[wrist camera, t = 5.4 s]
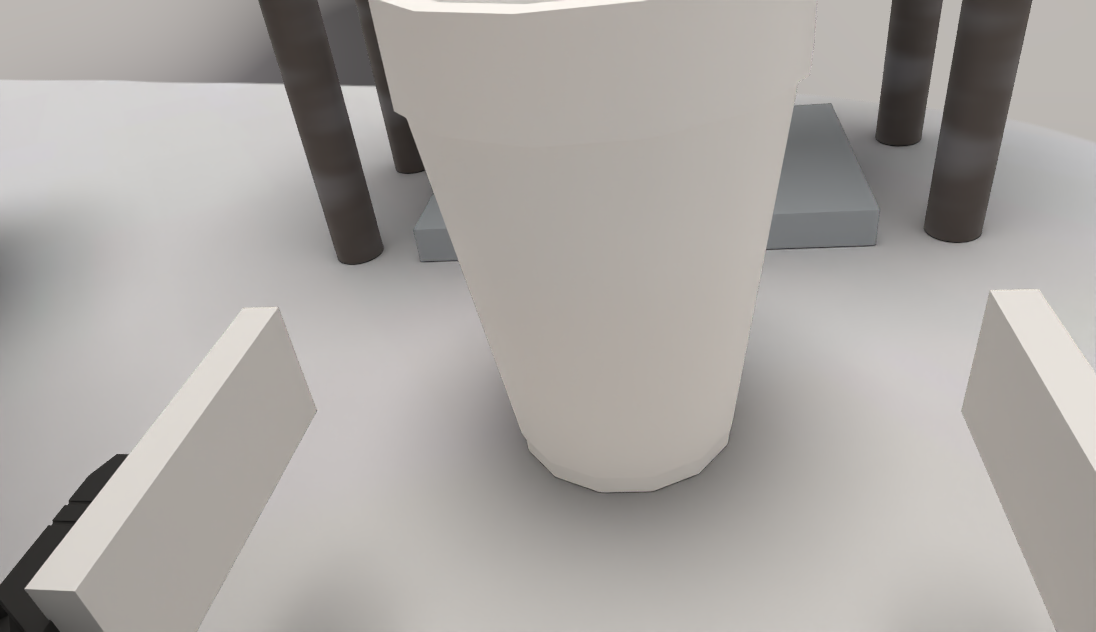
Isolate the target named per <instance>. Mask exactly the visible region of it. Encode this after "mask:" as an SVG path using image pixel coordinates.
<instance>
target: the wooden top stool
mask: <svg viewBox="0 0 1096 632" xmlns="http://www.w3.org/2000/svg"><path fill="white" fill-rule="evenodd" d="M355 2H356V6H357V10H358V15H359V19H360V23H361V27H362V31H363V35H364V39H365V44H366V48H367V52H368V56H369V60H370V64H371V68H372V73H373V77H374V81H375V85H376V89H377V93H378V97H379V101H380V106H381V110H382V114H383V118H384V122H385V126H386V130H387V134H388V139H389V143H390V147H391V151H392V155H393V159H394V163H395V168H396V170H397V171H398V172H401V173H415V172H420V171H423V170H425V168H424V165H423V162H422V159H421V157H420V154H419V151H418V149H417V146H416V143H415V140H414V138H413V135H412V132H411V129H410V127H409V124H408V121H407V118H405V117H404V116H402V115H400V114H398V113H396V112H395V111H394V109H393V105H392V100H391V96H390V92H389V87H388V83H387V79H386V75H385V70H384V66H383V62H382V58H381V53H380V49H379V45H378V40H377V36H376V32H375V28H374V23H373V19H372V15H371V10H370V6H369V2H368V0H355ZM942 2H943V0H892V7H891V15H890V23H889V31H888V39H887V47H886V56H885V63H884V72H883V80H882V88H881V96H880V104H879V112H878V120H877V129H876V139H877V140H878V141H879V142H882V143H884V144H888V145H897V146H903V145H911V144H914V143H917V142H919V141H920V140H921V136H922V130H923V123H924V117H925V111H926V104H927V97H928V92H929V91H928V90H929V85H930V79H931V72H932V66H933V59H934V53H935V47H936V40H937V34H938V27H939V21H940V14H941V9H942ZM1031 3H1032V0H963V1H962V6H961V12H960V18H959V24H958V30H957V36H956V42H955V47H954V53H953V60H952V65H951V71H950V77H949V83H948V89H947V95H946V100H945V106H944V112H943V118H942V124H941V129H940V135H939V141H938V147H937V153H936V159H935V165H934V170H933V176H932V182H931V188H930V194H929V200H928V206H927V211H926V217H925V223H924V230H925V231H926V232H927V233H928V234H929V235H930V236H932V237H934V238H937V239H940V240H944V241H950V242H966V241H971V240H974V239H976V238H978V237H979V236H980V235H981V233H982V229H983V224H984V220H985V215H986V210H987V206H988V201H989V197H990V192H991V187H992V183H993V178H994V174H995V169H996V165H997V160H998V155H999V151H1000V146H1001V142H1002V137H1003V132H1004V128H1005V123H1006V119H1007V114H1008V109H1009V104H1010V100H1011V96H1012V91H1013V87H1014V82H1015V77H1016V73H1017V68H1018V64H1019V59H1020V54H1021V50H1022V45H1023V41H1024V36H1025V31H1026V27H1027V22H1028V18H1029V13H1030V8H1031ZM259 4H260V7H261V10H262V14H263V17H264V20H265V23H266V27H267V30H268V33H269V36H270V40H271V43H272V46H273V49H274V53H275V55H276V59H277V62H278V66H279V69H280V72H281V76H282V79H283V82H284V85H285V89H286V92H287V95H288V98H289V102H290V105H291V108H292V111H293V115H294V118H295V121H296V124H297V127H298V131H299V134H300V137H301V140H302V144H303V147H304V150H305V153H306V157H307V160H308V163H309V166H310V170H311V173H312V176H313V179H314V183H315V186H316V189H317V192H318V196H319V199H320V202H321V205H322V209H323V212H324V215H325V218H326V222H327V225H328V228H329V231H330V235H331V238H332V241H333V244H334V248H335V251H336V254H337V257H338V260H339V261H340V262H342V263H346V264H358V263H363V262H367V261H369V260H372V259H374V258H375V257H377V256H378V255H380V254H381V252H382V251H383V244H382V240H381V236H380V233H379V229H378V225H377V221H376V218H375V214H374V210H373V206H372V203H371V199H370V195H369V191H368V188H367V184H366V180H365V176H364V173H363V169H362V165H361V162H360V158H359V154H358V150H357V147H356V143H355V139H354V135H353V132H352V128H351V124H350V120H349V117H348V113H347V109H346V106H345V102H344V98H343V94H342V91H341V87H340V83H339V79H338V76H337V72H336V68H335V64H334V61H333V57H332V53H331V49H330V46H329V42H328V38H327V35H326V31H325V27H324V24H323V20H322V16H321V12H320V8H319V5H318V1H317V0H259Z"/></svg>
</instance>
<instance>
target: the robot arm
mask: <svg viewBox="0 0 1096 632" xmlns="http://www.w3.org/2000/svg"><path fill="white" fill-rule="evenodd" d="M316 412H317V409H316V407H315V404H314V401H313V399H312V396H311V393H310V391H309V388H308V385H307V383H306V380H305V377H304V374H303V372H302V369H301V366H300V364H299V361H298V358H297V356H296V353H295V350H294V348H293V345H292V342H291V339H290V337H289V334H288V331H287V329H286V326H285V323H284V321H283V318H282V315H281V313H280V310H279V307H255V308H243V309H242V310H241V311H240V312H239V314H238V315H237V316H236V318H235V319H234V320H233V321H232V323H231V324H230V325H229V327H228V328H227V329H226V330H225V332H224V333H223V334H222V336H221V337H220V338H219V339H218V341H217V342H216V343H215V345H214V346H213V347H212V348H211V350H210V351H209V352H208V354H207V355H206V356H205V357H204V359H203V360H202V361H201V363H200V364H199V365H198V366H197V368H196V369H195V370H194V372H193V373H192V374H191V375H190V377H189V378H188V379H187V381H186V382H185V383H184V384H183V386H182V387H181V388H180V390H179V391H178V392H177V393H176V395H175V396H174V397H173V399H172V400H171V401H170V402H169V404H168V405H167V406H166V408H165V409H164V410H163V411H162V413H161V414H160V415H159V417H158V418H157V419H156V420H155V422H154V423H153V424H152V425H151V427H150V428H149V429H148V431H147V432H146V433H145V434H144V436H143V437H142V438H141V440H140V441H139V442H138V443H137V445H136V446H135V447H134V449H133V450H132V451H131V452H130V454H116V455H115V456H114V457H112V458H111V459H110V460H109V461H107V462H106V463H105V464H103V465H102V466H101V467H99V468H98V469H97V470H96V471H94V472H93V473H92V474H90V475H89V476H88V477H87V478H86V480H85V481H84V482H83V483H82V485H81V486H80V487H79V488H78V490H77V491H76V492H75V493H74V494H73V496H72V497H71V498H70V499H69V504H68V505H65V506H64V507H63V508H62V509H61V510H60V512H59V513H58V514H57V515H56V517H55V518H54V519H53V520H52V521H53V524H52V525H51V526H50V525H48V526H47V528H46V529H45V530H44V531H43V533H42V534H41V535H40V536H39V538H38V539H37V540H36V541H35V542H34V544H33V545H32V546H31V547H30V549H29V550H28V551H27V552H26V554H25V555H24V556H23V557H22V559H21V560H20V561H19V562H18V563H17V565H16V566H15V567H14V568H13V570H12V571H11V572H10V573H9V575H8V576H7V577H6V578H5V579H4V581H3V582H2V583H1V584H0V632H197V630H198V628H199V626H200V625H201V623H202V621H203V619H204V617H205V615H206V614H207V612H208V610H209V608H210V606H211V604H212V603H213V601H214V599H215V597H216V595H217V593H218V592H219V590H220V588H221V586H222V584H223V582H224V581H225V579H226V577H227V575H228V573H229V571H230V570H231V568H232V566H233V564H234V562H235V560H236V559H237V557H238V555H239V553H240V551H241V549H242V548H243V546H244V544H245V542H246V540H247V538H248V537H249V535H250V533H251V531H252V529H253V527H254V526H255V524H256V522H257V520H258V518H259V516H260V515H261V513H262V511H263V509H264V507H265V505H266V504H267V502H268V500H269V498H270V496H271V494H272V493H273V491H274V489H275V487H276V485H277V483H278V481H279V480H280V478H281V476H282V474H283V472H284V470H285V469H286V467H287V465H288V463H289V461H290V459H291V458H292V456H293V454H294V452H295V450H296V448H297V447H298V445H299V443H300V441H301V439H302V437H303V436H304V434H305V432H306V430H307V428H308V426H309V425H310V423H311V421H312V419H313V417H314V415H315V414H316ZM961 412H962V414H963V417H964V419H965V421H966V423H967V426H968V428H969V430H970V433H971V435H972V437H973V440H974V442H975V444H976V447H977V449H978V451H979V454H980V456H981V458H982V461H983V463H984V465H985V467H986V470H987V472H988V474H989V477H990V479H991V481H992V484H993V486H994V488H995V491H996V493H997V495H998V498H999V500H1000V502H1001V504H1002V507H1003V509H1004V511H1005V514H1006V516H1007V518H1008V521H1009V523H1010V525H1011V528H1012V530H1013V532H1014V535H1015V537H1016V539H1017V542H1018V544H1019V546H1020V548H1021V551H1022V553H1023V555H1024V558H1025V560H1026V562H1027V565H1028V567H1029V569H1030V572H1031V574H1032V576H1033V579H1034V581H1035V583H1036V586H1037V588H1038V590H1039V592H1040V595H1041V597H1042V599H1043V602H1044V604H1045V606H1046V609H1047V611H1048V613H1049V616H1050V618H1051V620H1052V623H1053V625H1054V627H1055V630H1056V632H1096V373H1095V372H1094V370H1093V369H1092V367H1091V366H1090V364H1089V363H1088V361H1087V360H1086V358H1085V357H1084V355H1083V354H1082V352H1081V351H1080V349H1079V348H1078V346H1077V345H1076V343H1075V342H1074V340H1073V339H1072V337H1071V336H1070V334H1069V333H1068V332H1067V330H1066V329H1065V327H1064V326H1063V324H1062V323H1061V321H1060V320H1059V318H1058V317H1057V315H1056V314H1055V312H1054V311H1053V309H1052V308H1051V306H1050V305H1049V303H1048V302H1047V300H1046V299H1045V297H1044V296H1043V294H1042V293H1041V292H1040V290H1039V289H1018V290H990V292H989V296H988V300H987V304H986V309H985V313H984V317H983V321H982V326H981V330H980V334H979V338H978V343H977V347H976V351H975V355H974V360H973V364H972V368H971V372H970V376H969V381H968V385H967V389H966V393H965V398H964V402H963V406H962V410H961Z"/></svg>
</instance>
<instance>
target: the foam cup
mask: <svg viewBox="0 0 1096 632" xmlns="http://www.w3.org/2000/svg"><path fill="white" fill-rule="evenodd" d="M368 2H369V6H370V10H371V15H372V19H373V23H374V28H375V32H376V36H377V40H378V45H379V49H380V53H381V58H382V62H383V66H384V70H385V75H386V79H387V83H388V87H389V92H390V96H391V100H392V105H393V109H394V111H395V112H396V113H398V114H400V115H402V116H404V117H405V118H407V121H408V124H409V127H410V129H411V132H412V135H413V138H414V140H415V143H416V146H417V149H418V151H419V154H420V157H421V159H422V162H423V165H424V168H425V170H426V173H427V176H428V179H429V181H430V184H431V187H432V190H433V192H434V195H435V198H436V200H437V203H438V206H439V209H440V211H441V214H442V217H443V220H444V222H445V225H446V228H447V230H448V233H449V236H450V239H451V241H452V244H453V247H454V250H455V252H456V255H457V258H458V261H459V263H460V266H461V269H462V271H463V274H464V277H465V280H466V282H467V285H468V288H469V291H470V293H471V296H472V299H473V301H474V304H475V307H476V310H477V312H478V315H479V318H480V321H481V323H482V326H483V329H484V332H485V334H486V337H487V340H488V342H489V345H490V348H491V351H492V353H493V356H494V359H495V362H496V364H497V367H498V370H499V372H500V375H501V378H502V381H503V383H504V386H505V389H506V392H507V394H508V397H509V400H510V403H511V405H512V408H513V411H514V413H515V416H516V419H517V422H518V424H519V427H520V430H521V433H522V435H523V436H524V437H525V438H526V439H527V445H528V450H529V451H530V452H531V453H532V454H533V455H534V456H535V457H536V458H537V459H538V460H539V461H540V462H541V463H542V464H543V465H544V466H545V467H546V468H547V469H548V470H549V471H550V472H551V473H552V474H553V475H554V476H555V477H557V478H560V479H563V480H566V481H569V482H572V483H575V484H577V485H580V486H583V487H586V488H589V489H592V490H595V491H598V492H646V491H655V490H657V489H660V488H663V487H665V486H668V485H670V484H673V483H676V482H678V481H681V480H683V479H686V478H689V477H691V476H694V475H697V474H699V473H700V472H701V471H702V470H703V469H704V468H705V467H706V466H707V465H708V464H709V463H710V462H711V461H712V460H713V459H714V458H715V457H716V456H717V455H718V454H719V453H720V452H721V450H722V449H723V448H724V447H725V446H726V445H727V444H728V439H729V434H730V429H731V427H732V422H733V417H734V412H735V406H736V401H737V396H738V391H739V386H740V381H741V376H742V370H743V365H744V360H745V355H746V350H747V345H748V339H749V334H750V329H751V324H752V319H753V314H754V309H755V303H756V298H757V293H758V288H759V283H760V278H761V272H762V267H763V262H764V257H765V252H766V247H767V242H768V236H769V231H770V226H771V221H772V216H773V211H774V205H775V200H776V195H777V190H778V185H779V180H780V175H781V169H782V164H783V159H784V154H785V149H786V144H787V139H788V133H789V128H790V123H791V118H792V113H793V108H794V102H795V97H796V92H797V86H798V82H800V81H801V80H803V79H805V78H806V77H808V76H809V75H810V71H811V63H812V56H813V50H814V42H815V28H816V14H817V0H368Z"/></svg>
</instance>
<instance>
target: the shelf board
mask: <svg viewBox="0 0 1096 632" xmlns="http://www.w3.org/2000/svg"><path fill="white" fill-rule="evenodd" d="M879 214H880V209H879V206H878V204H877V202H876V200H875V198H874V195H873V193H872V191H871V189H870V187H869V184H868V182H867V180H866V178H865V176H864V174H863V171H862V169H861V167H860V165H859V163H858V160H857V158H856V156H855V154H854V152H853V149H852V147H851V145H850V143H849V141H848V139H847V136H846V134H845V132H844V130H843V128H842V125H841V123H840V121H839V119H838V117H837V114H836V112H835V110H834V108H833V106H832V104H831V103H828V104H812V105H797V106H794V108H793V113H792V118H791V123H790V128H789V133H788V139H787V144H786V149H785V154H784V159H783V164H782V169H781V175H780V180H779V185H778V190H777V195H776V200H775V205H774V211H773V216H772V221H771V226H770V231H769V236H768V242H767V247H766V249H780V248H808V247H836V246H863V245H875V244H876V236H877V229H878V221H879ZM413 231H414V235H415V239H416V243H417V248H418V252H419V256H420V260H421V262H422V261H449V260H458V258H457V255H456V252H455V250H454V247H453V244H452V241H451V239H450V236H449V233H448V230H447V228H446V225H445V222H444V220H443V217H442V214H441V211H440V209H439V206H438V203H437V200H436V198H435V195H434V192H433V194H432V196H431V198H430V200H429V202H428V204H427V205H426V207H425V209H424V211H423V213H422V215H421V217H420V218H419V220H418V222H417V224H416V226H415V228H414V229H413Z"/></svg>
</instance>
